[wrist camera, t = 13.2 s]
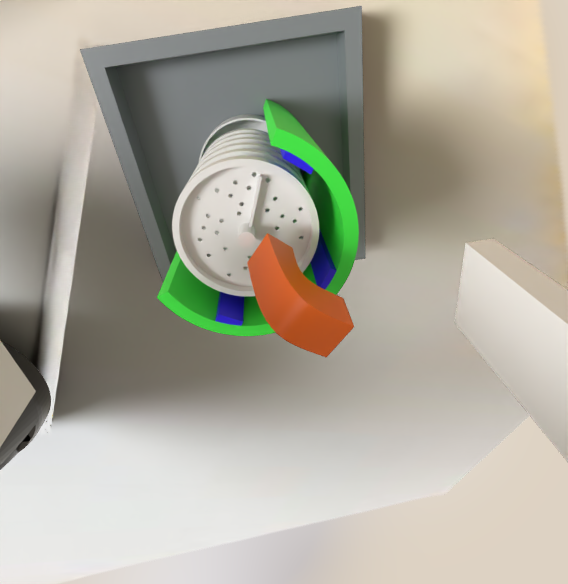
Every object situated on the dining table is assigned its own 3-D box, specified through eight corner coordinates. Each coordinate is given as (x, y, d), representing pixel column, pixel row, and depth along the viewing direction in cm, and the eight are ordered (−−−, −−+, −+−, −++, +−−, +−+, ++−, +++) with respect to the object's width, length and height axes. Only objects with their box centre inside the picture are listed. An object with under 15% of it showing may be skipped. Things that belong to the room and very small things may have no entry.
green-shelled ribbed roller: (225, 78, 24) (184, 103, 9) (333, 130, 26) (454, 224, 11) (185, 205, 28) (111, 374, 13) (282, 241, 30) (317, 422, 15)
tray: (172, 271, 32) (165, 289, 29) (98, 51, 23) (79, 49, 21) (355, 242, 32) (365, 258, 29) (349, 12, 23) (361, 5, 21)
